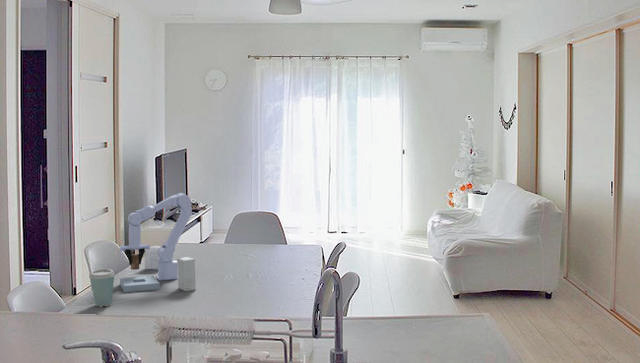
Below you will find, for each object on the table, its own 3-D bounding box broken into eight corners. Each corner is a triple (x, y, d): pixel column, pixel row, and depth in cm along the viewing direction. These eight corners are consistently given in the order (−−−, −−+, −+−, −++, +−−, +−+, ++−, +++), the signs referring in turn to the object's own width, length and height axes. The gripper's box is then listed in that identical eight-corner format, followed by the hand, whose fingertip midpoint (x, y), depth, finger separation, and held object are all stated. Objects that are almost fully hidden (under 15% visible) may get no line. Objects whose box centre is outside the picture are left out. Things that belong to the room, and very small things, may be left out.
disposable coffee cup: (112, 308, 287) (111, 273, 286) (86, 308, 286) (85, 273, 285) (117, 301, 298) (117, 268, 296) (92, 302, 297) (92, 268, 295)
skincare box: (196, 290, 320) (196, 259, 319) (183, 291, 317) (183, 260, 315) (189, 286, 327) (189, 256, 326) (177, 288, 324) (177, 257, 322)
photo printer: (164, 267, 367) (164, 245, 366) (164, 269, 363) (163, 246, 361) (145, 268, 365) (145, 245, 364) (144, 269, 361) (144, 247, 360)
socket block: (153, 281, 335) (153, 275, 335) (159, 289, 321) (159, 283, 320) (119, 284, 329) (119, 278, 328) (124, 292, 314) (124, 285, 314)
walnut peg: (138, 267, 339) (138, 253, 338) (139, 269, 335) (139, 255, 334) (130, 268, 337) (130, 254, 336) (131, 269, 333) (131, 255, 333)
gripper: (148, 235, 341) (148, 261, 342) (118, 236, 335) (118, 263, 336) (150, 237, 335) (151, 264, 336) (120, 239, 329) (120, 266, 330)
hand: (135, 264), depth 336 cm, fingers closed on walnut peg, 4 cm apart
